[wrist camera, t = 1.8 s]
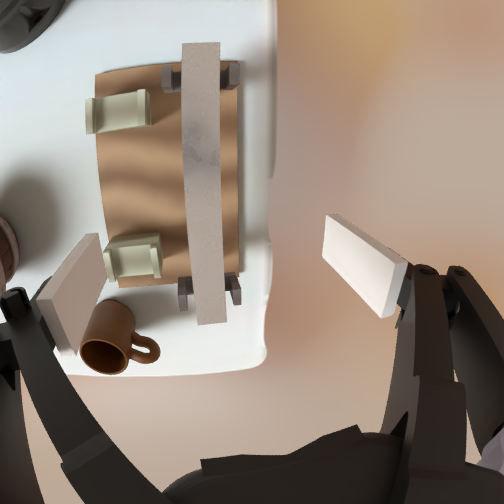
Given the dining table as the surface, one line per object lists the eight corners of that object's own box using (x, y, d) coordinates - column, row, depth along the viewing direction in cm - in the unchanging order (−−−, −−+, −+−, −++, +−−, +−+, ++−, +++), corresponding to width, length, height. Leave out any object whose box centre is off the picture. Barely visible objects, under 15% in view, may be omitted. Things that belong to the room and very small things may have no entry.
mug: (162, 304, 42) (160, 345, 33) (161, 339, 45) (160, 381, 36) (90, 295, 38) (74, 333, 30) (94, 331, 41) (83, 371, 33)
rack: (97, 76, 26) (60, 56, 15) (236, 63, 30) (258, 35, 19) (120, 284, 39) (104, 337, 28) (238, 273, 42) (256, 323, 32)
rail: (182, 52, 21) (182, 43, 18) (216, 51, 21) (220, 42, 19) (196, 308, 33) (198, 325, 30) (222, 305, 33) (226, 321, 30)
